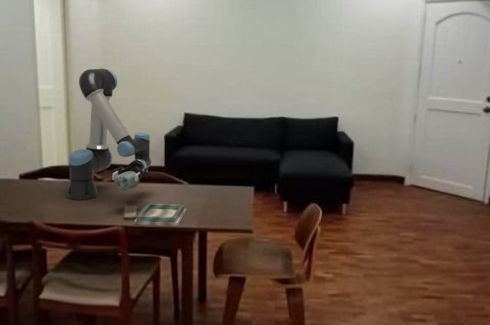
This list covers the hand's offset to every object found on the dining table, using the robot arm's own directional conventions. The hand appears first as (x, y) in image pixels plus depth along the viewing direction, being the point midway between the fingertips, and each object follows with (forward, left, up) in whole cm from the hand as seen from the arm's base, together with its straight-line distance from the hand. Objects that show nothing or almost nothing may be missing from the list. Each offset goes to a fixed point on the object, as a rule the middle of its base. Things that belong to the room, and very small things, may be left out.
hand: (124, 177), depth 250 cm
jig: (+18, -5, -17) cm, 25 cm away
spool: (0, +4, -7) cm, 8 cm away
